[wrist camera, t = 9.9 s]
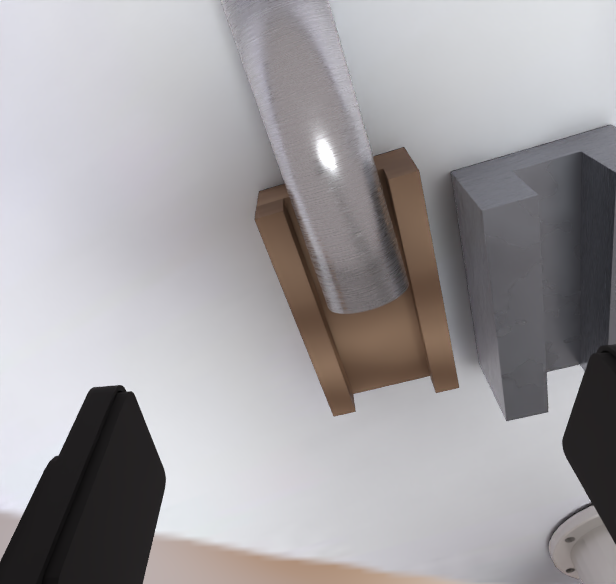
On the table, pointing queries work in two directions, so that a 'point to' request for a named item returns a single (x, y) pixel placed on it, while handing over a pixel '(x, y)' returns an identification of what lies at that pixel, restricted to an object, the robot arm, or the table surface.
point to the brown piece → (373, 323)
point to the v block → (540, 262)
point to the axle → (320, 147)
